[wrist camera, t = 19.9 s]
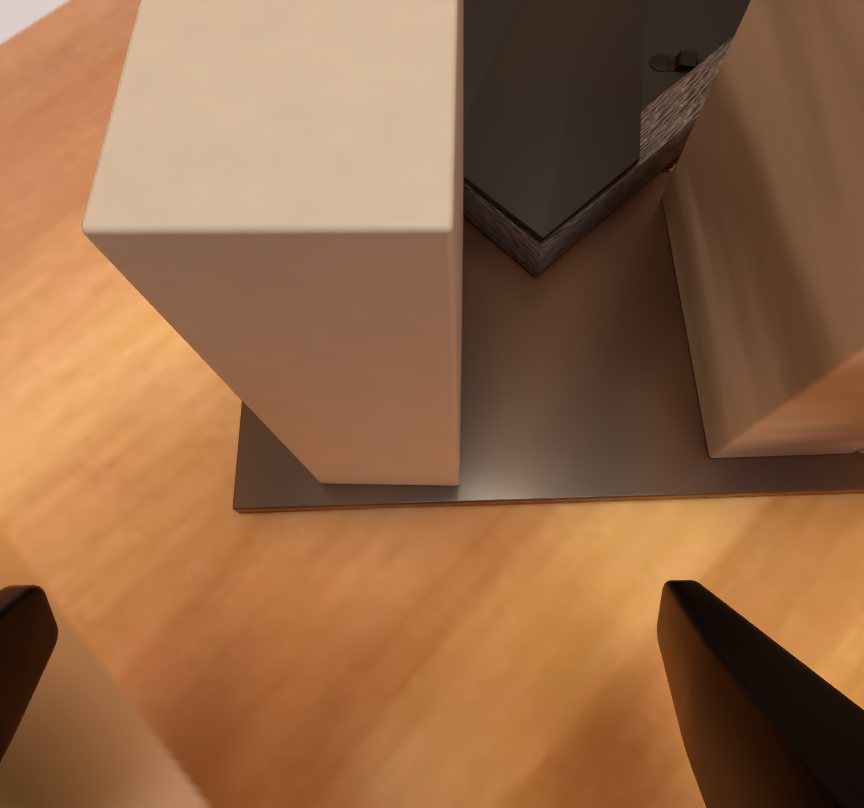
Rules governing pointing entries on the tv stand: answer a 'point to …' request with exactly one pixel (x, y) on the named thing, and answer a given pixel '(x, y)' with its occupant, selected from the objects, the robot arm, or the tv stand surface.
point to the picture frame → (578, 109)
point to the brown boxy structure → (670, 313)
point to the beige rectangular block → (302, 216)
